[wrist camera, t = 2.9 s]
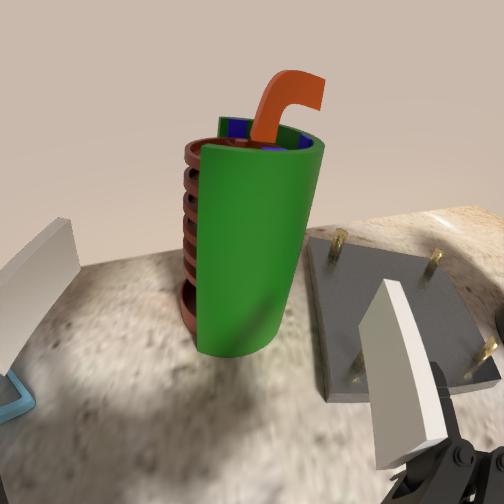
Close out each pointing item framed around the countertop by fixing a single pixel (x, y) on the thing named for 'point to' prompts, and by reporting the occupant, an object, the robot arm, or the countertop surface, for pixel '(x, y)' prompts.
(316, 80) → the motor
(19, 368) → the countertop surface
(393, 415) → the robot arm
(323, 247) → the plate
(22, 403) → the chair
